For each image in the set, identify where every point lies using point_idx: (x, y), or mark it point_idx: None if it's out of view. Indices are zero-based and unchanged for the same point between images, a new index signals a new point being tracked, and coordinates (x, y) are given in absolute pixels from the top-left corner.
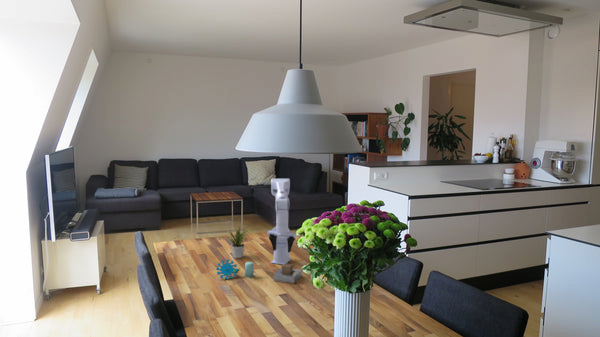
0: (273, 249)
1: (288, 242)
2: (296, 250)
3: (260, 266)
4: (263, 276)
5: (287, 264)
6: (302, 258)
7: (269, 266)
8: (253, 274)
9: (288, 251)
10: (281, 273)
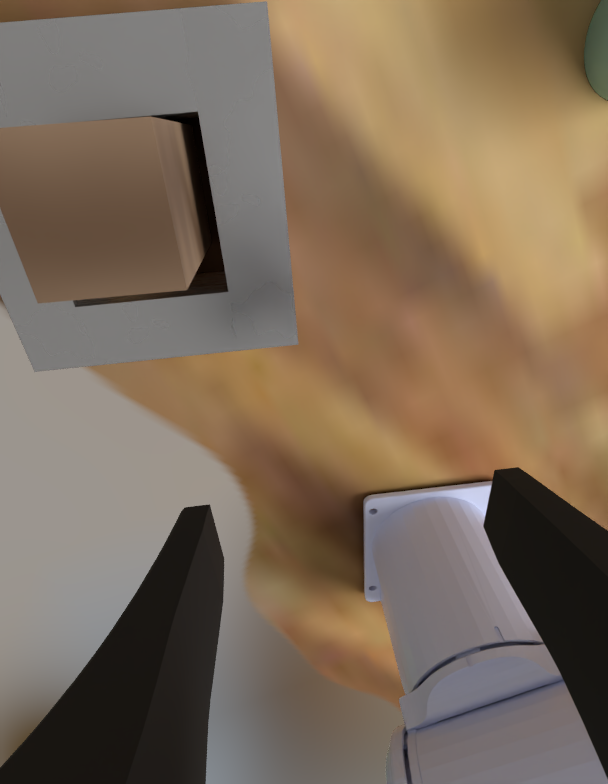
0: (526, 479)
1: (100, 754)
2: (399, 703)
3: (567, 376)
4: (451, 107)
5: (113, 248)
6: (299, 636)
7: (482, 413)
8: (598, 51)
9: (190, 516)
10: (170, 97)
